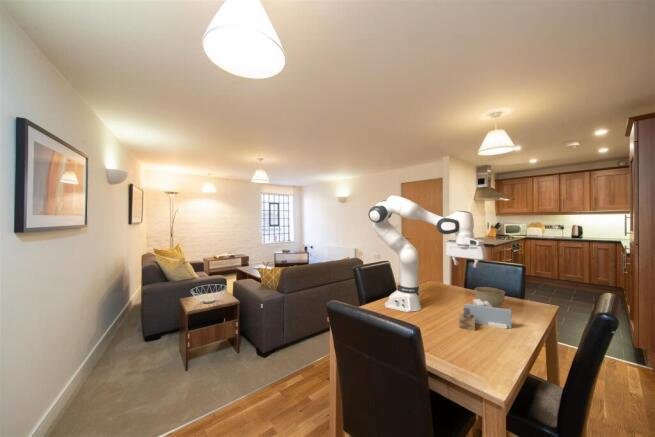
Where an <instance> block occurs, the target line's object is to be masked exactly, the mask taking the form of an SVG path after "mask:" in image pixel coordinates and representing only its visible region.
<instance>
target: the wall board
mask: <svg viewBox="0 0 655 437" xmlns="http://www.w3.org/2000/svg"><path fill="white" fill-rule="evenodd" d="M464 308H470V315H474V317H475V324H480V325H488V327H494V328H497V329H498V328H499V329H512V310H511V309H510V308H504V307H503V308H501V307H499V308H495V307H488V306H480V305H474V304H473V303H472V304H471V303H464Z"/></svg>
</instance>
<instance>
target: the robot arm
mask: <svg viewBox="0 0 655 437" xmlns="http://www.w3.org/2000/svg"><path fill="white" fill-rule="evenodd" d="M393 214H395V215H397V216H399V217H401V218H405V219H408V220H419V221H423V222H426V223H428V224H431V225H433V226H435V227H436V229H437V231H438V232H439V233H441V234H443V235H451V234H455V239H448V240H447V241H446V243H445V245H446V248H445V249H446V250H445V255H446V256H447V257H452V260H453V263H454V265H455V266H459V265H460V264H459V263H460V261H458V260H457V258H459V259H460V258H463V259H471V260H474V263H472V264H471V266H472V268H477V264H479V262H480V261H484V260H485V259H487V249H486V246H485V240H483V239H481V238H478V237H477V238H476V237H475V234H474V226H475V223H474V215H473V214H472V212H470V211H465V210H456V212H454V213H452V214H450V215H447V216H440V215H438V214H436V213H433V212H431V211H428V210H426V209H425V208H423V207H422V206H420V205H419V204H418V203H416V202H414V201H413V200H411V199H409V198H406V197H402V196H399V195H390V196H389V197H387V199H386V200H381V201H380V202H378V203H376V204H375V205H374V206H372V207H371V208H370V209H369V211H368V218H369V221H371V222H372V228H373V230H374V232H375V233H376V234H377V235H378V237H379V238H380V239H381V240H382V241H383V242H384V243H385V244H386V245H387V247H388V248H390V249H391V250H393V251H394V252H395V253H396V254H397V255H398V256H399V257H398V258H399V279H400V280H399V281H400V282H399V283H398V284H397V286H396V290H394V292H392V293H390V295H389V297H388V300H387V301H385V303H384V307H385V308H386V309H390V310H391V309H392V310H396V311H399V312H405V313H410V312H418V311H421V310H422V306H421V300H420V286H419V253H418V249H417V248H416V247H415V246H414V245H413V244H412V243H411V242H410V241H408V239H406V238H405V237H404V236H403V235H402V233H401V232H399V230H397V229H396V227H395V226H393V225H392V224H391V223H390V221H389V219H390V218H391V217H392V215H393Z"/></svg>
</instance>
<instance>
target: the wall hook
mask: <svg viewBox="0 0 655 437" xmlns="http://www.w3.org/2000/svg"><path fill="white" fill-rule="evenodd" d="M472 305H480V306H488V307H492V306H491V304H490V303H489V302H488V301H484V302H482V301H481V300H480V299H477V298H475V299H472Z"/></svg>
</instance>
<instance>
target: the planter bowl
mask: <svg viewBox="0 0 655 437" xmlns="http://www.w3.org/2000/svg"><path fill="white" fill-rule="evenodd" d="M474 292H475V298H476V299H480V300H481V301H482V302H484V301H488V302H489V303H490V304H491V306H492V307H495V308H500V307H501V306H502V305H503V303H504V301H505V295H506V291H504V290H502V289H499V288H496V287H495V288H494V287H488V286H477V287H475V288H474Z"/></svg>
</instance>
